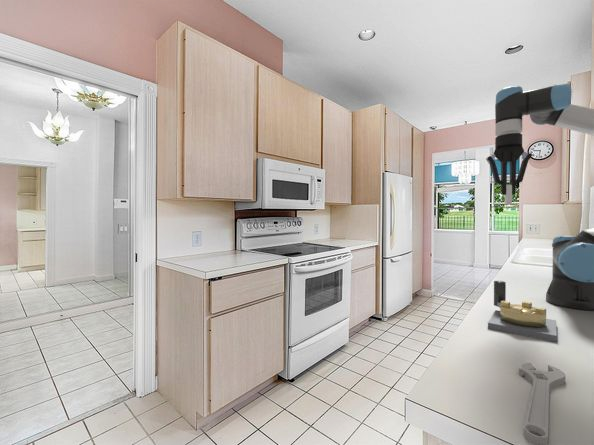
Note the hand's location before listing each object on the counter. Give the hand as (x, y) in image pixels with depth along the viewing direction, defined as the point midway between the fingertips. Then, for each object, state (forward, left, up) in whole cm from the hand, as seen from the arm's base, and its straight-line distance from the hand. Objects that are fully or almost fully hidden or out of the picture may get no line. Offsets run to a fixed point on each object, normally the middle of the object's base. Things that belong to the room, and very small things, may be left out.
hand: (508, 204), depth 102 cm
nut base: (+14, +16, -34) cm, 40 cm away
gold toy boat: (+15, +14, -33) cm, 38 cm away
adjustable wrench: (+45, +43, -35) cm, 71 cm away
